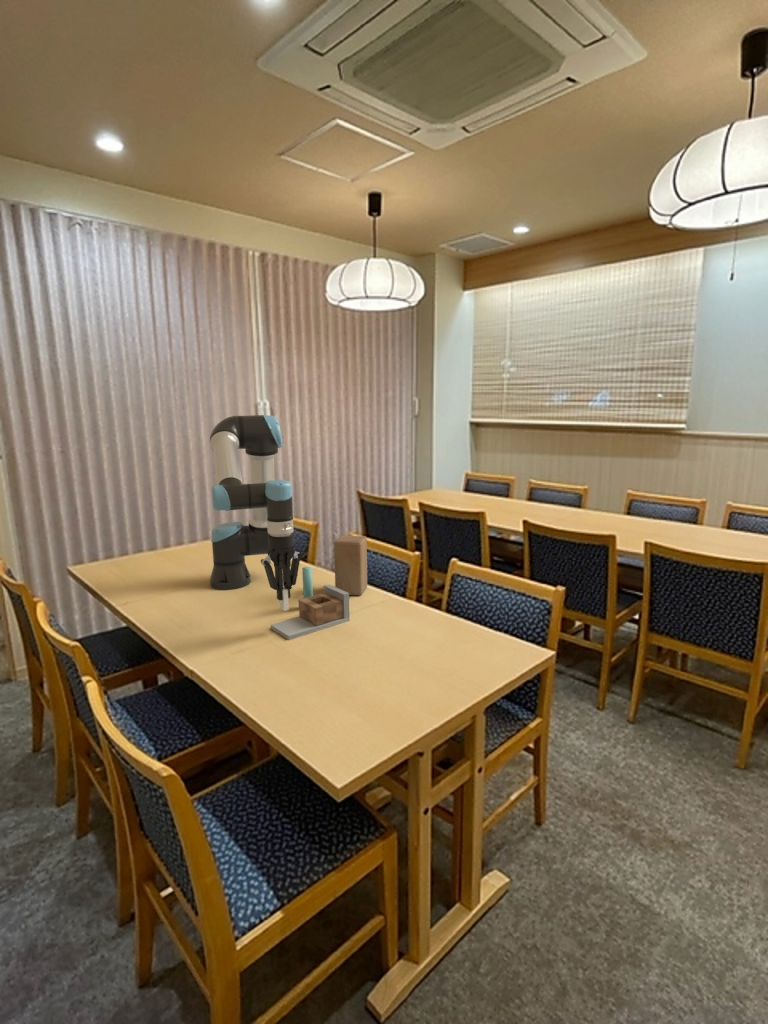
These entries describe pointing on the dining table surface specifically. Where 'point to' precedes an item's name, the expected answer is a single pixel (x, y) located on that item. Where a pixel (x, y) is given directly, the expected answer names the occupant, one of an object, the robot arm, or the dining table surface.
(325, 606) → the walnut block
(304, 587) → the teal dowel
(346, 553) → the block
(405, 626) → the dining table surface
